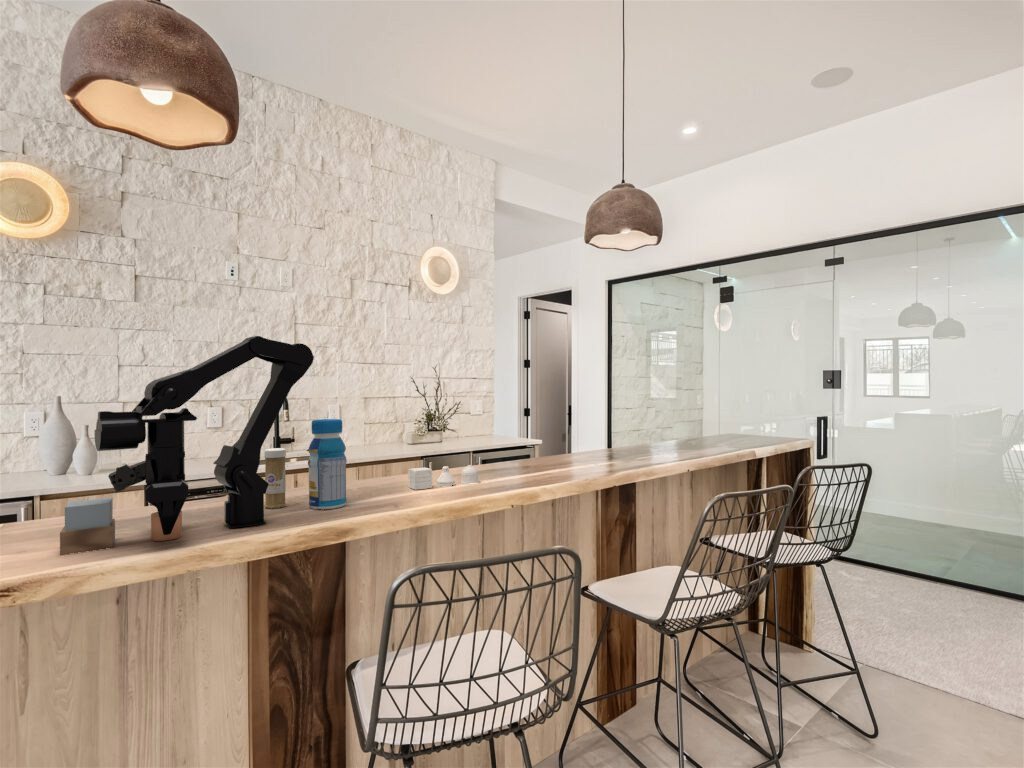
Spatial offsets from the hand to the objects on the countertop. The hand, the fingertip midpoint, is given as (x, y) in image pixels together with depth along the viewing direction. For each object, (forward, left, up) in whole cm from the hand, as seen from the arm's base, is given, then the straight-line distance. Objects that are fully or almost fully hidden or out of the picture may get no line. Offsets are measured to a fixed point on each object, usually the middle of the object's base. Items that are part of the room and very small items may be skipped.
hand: (166, 531), depth 100 cm
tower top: (+11, -1, +2) cm, 12 cm away
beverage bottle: (-31, -10, -1) cm, 33 cm away
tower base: (+11, -1, -2) cm, 12 cm away
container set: (-66, -19, -2) cm, 69 cm away
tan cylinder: (0, 0, -1) cm, 1 cm away
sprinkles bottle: (-21, -17, -1) cm, 27 cm away
